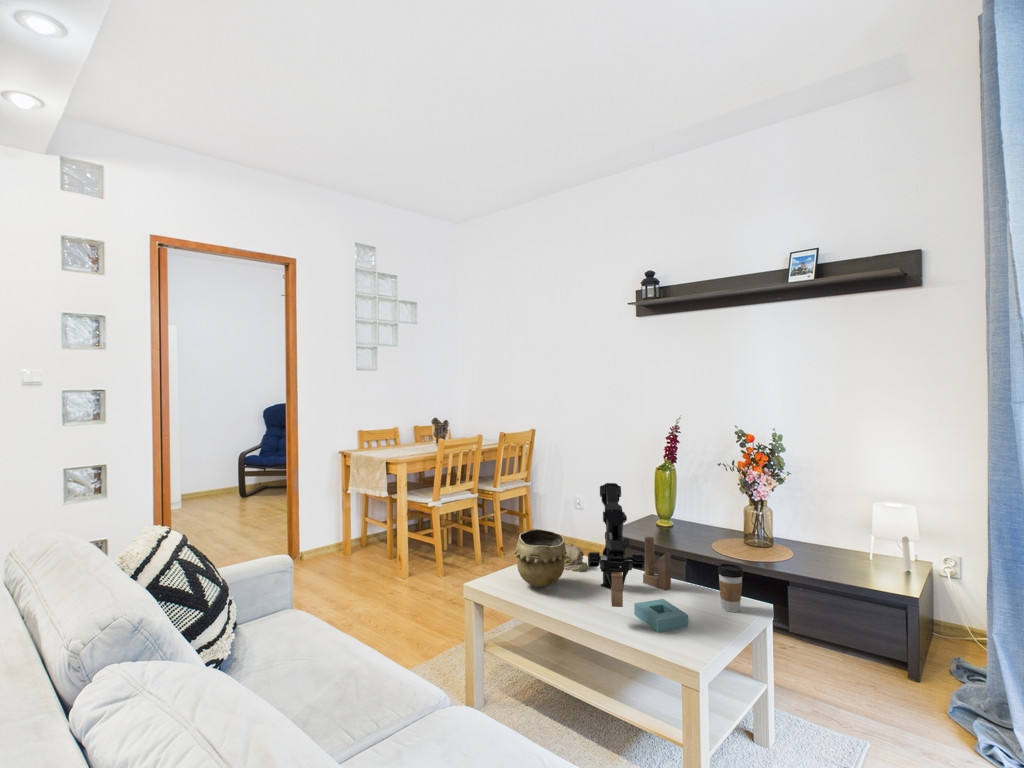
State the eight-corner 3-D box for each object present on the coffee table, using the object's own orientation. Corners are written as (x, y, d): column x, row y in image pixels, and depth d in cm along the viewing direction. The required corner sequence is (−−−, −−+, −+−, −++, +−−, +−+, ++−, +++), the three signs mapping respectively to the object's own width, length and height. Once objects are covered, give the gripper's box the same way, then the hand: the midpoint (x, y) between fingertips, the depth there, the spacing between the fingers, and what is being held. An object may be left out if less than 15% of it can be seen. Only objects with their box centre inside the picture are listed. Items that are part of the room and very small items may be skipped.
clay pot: (579, 586, 215) (578, 535, 215) (539, 600, 201) (539, 546, 201) (542, 572, 231) (542, 524, 231) (503, 584, 217) (503, 534, 217)
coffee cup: (714, 603, 197) (714, 562, 197) (738, 603, 197) (738, 562, 197) (722, 613, 188) (722, 570, 188) (747, 613, 188) (747, 570, 188)
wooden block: (665, 590, 210) (665, 543, 210) (642, 582, 218) (642, 537, 218) (671, 588, 212) (671, 541, 212) (648, 580, 220) (648, 535, 220)
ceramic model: (550, 567, 237) (550, 544, 237) (564, 560, 247) (563, 538, 247) (579, 573, 229) (579, 549, 229) (592, 566, 238) (592, 543, 238)
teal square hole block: (634, 614, 188) (634, 603, 188) (663, 610, 192) (663, 598, 192) (657, 632, 175) (657, 619, 175) (688, 627, 178) (688, 614, 178)
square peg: (611, 601, 184) (611, 571, 184) (621, 602, 183) (621, 572, 183) (611, 606, 180) (611, 576, 180) (622, 607, 179) (622, 576, 179)
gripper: (587, 528, 186) (588, 572, 175) (643, 529, 184) (648, 574, 173) (587, 544, 194) (588, 587, 183) (641, 546, 192) (645, 589, 181)
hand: (617, 584), depth 180 cm, fingers closed on square peg, 3 cm apart
